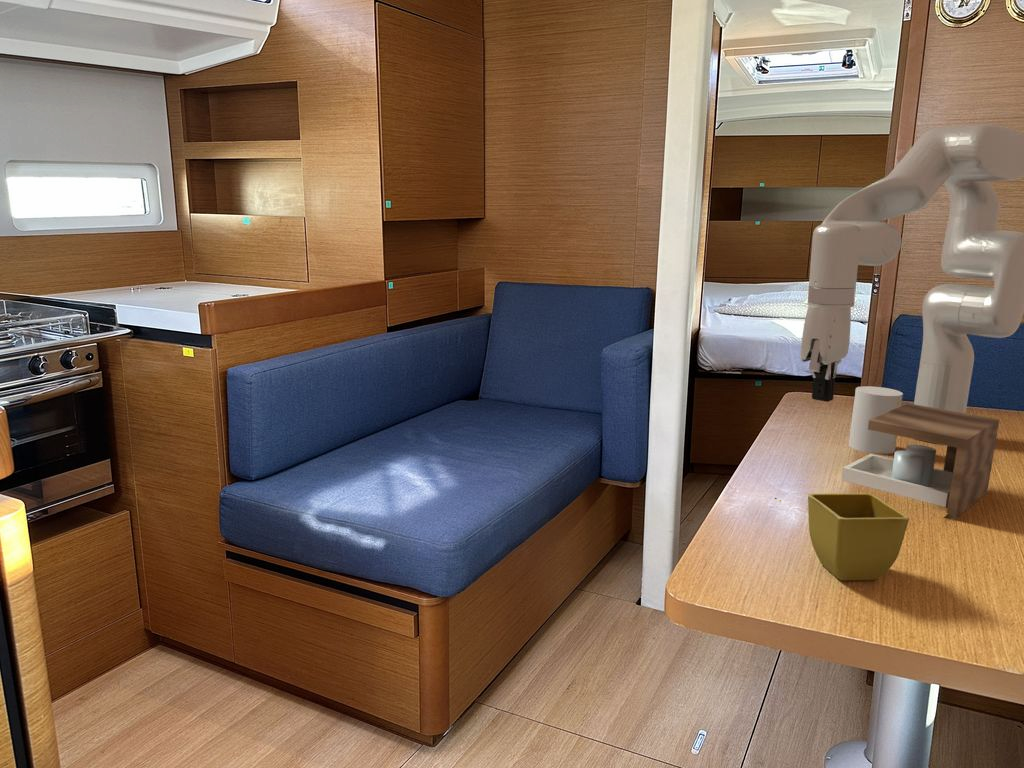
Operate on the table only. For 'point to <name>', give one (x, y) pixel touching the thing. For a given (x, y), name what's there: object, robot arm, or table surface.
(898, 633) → the table surface
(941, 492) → the tray
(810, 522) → the flower pot
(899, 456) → the blue-grey rounded cylinder
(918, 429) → the counter
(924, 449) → the grey rounded cylinder
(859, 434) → the white cylinder
